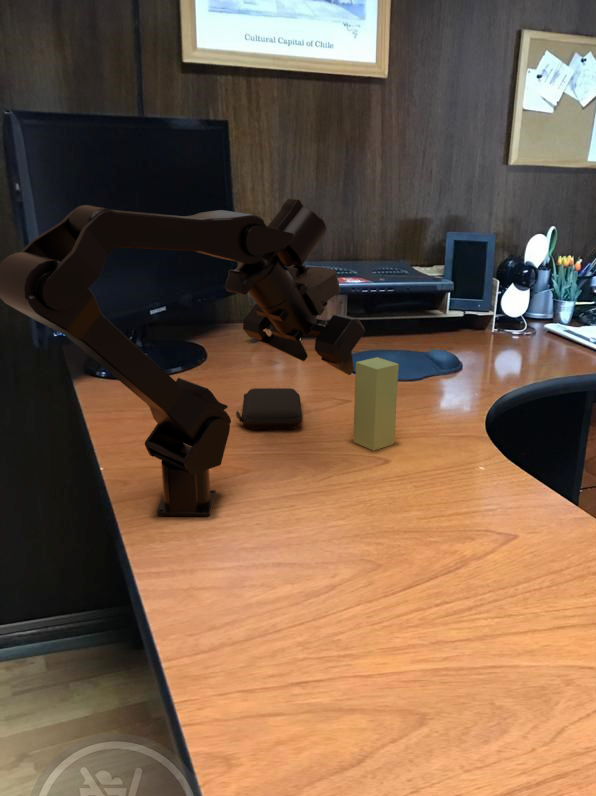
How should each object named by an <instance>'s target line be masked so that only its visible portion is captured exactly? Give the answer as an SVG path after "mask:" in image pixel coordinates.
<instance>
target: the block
mask: <svg viewBox="0 0 596 796" xmlns="http://www.w3.org/2000/svg"><path fill="white" fill-rule="evenodd" d="M399 366H400V364H399V363H397V362H393V361H391V360H387V359H385V358H381V357H378V356H376V357H372V358H367V359H364V360H359V361H356V362H355V374H354V377H355V379H354V404H353V405H354V407H353V408H354V410H353V434H352V435H353V437H352V443H355V444H357V445H359V446H362V447H364V448H366V449H369V450H371V451H373V452H375V451H377V450H380V449H383V448H386V447H389V446H391V445H395V441H396V440H395V439H396V419H397V403H398V399H397V398H398V385H399V369H400V368H399Z"/></svg>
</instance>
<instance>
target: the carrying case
mask: <svg viewBox="0 0 596 796" xmlns="http://www.w3.org/2000/svg"><path fill="white" fill-rule="evenodd" d="M235 416H236V418H237V420H238V421H239V422H240V423H243V424H245V426H246V427H247V428H249V429H252V430H280V429H281V430H291V429H293V430H294V429H296V428H298V427H299V425H300V424H302V422H303V411H302V402H301V395H300V394H299V393H298V392H297V391H296V389H294V388H290V387H285V388H284V387H282V388H280V387H279V388H278V387H273V388H271V387H269V388H268V387H266V388H264V387H261V388H259V387H258V388H257V387H255V388H250V389H249V390H248V391H247V392H246V393H243V402H242V410H241V413H240V412H239V411H238V410H236V412H235Z"/></svg>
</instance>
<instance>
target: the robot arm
mask: <svg viewBox="0 0 596 796" xmlns="http://www.w3.org/2000/svg"><path fill="white" fill-rule="evenodd" d="M327 231H328V228H327V225H326V222H325V221H324V220H323V218H321V217H320V216H319V215H317V213H315V212H314V211H313V210H311V209H310V208H308V207H306V206H305V205H303V203H302V202H301V200H300V199H297V198H289V197H288V198H287V199H286V200H285V201H284V203H283V204H282V206H281V208H280V210H279V211H278V213H277V214H276V215H274V217H273V219H271V221H270V222H269V223H268V224H267V225H266V223H265V220H264V218H262V216H261V217H260V216H258V215H255V214H250V213H244V212H238V211H237V212H236V211H231V210H223V209H219V210H218V209H217V210H210V211H203V212H198V213H195V214H192V215H185V216H183V215H174V214H173V215H172V214H163V213H162V214H161V213H153V212H152V213H151V212H150V213H149V212H139V211H128V210H119V209H110V208H106V207H101V206H96V205H90V204H84V205H79V206H77V207H75V208H74V209H73V210H71V211H70V212H69V213H68V214H67V215H66V216H65V217H64V218H63V219H62V221H60V222H59V223H57V224H55V225H54V226H53V227H51V228H49V229H48V230H46V231H44V232H42V233H41V234H40V235H38V236H37V237H35V238H34V239H32V240H31V241H30V242H29V243H28V244H27V245H25V247H23V249H22V250H21V251H20V252H15V253H13V254H10V255H8V256H7V257H6V258H4V259H3V260H2V261H1V262H0V300H2V301H3V303H4V304H6V305H7V306H9V307H11V308H13V309H15V310H16V311H18V312H20V313H22V314H23V315H25V316H27V317H29V318H30V319H32V320H35V321H36V322H38V323H40V324H42V325H44V326H46V327H48V328H50V329H52V330H54V331H56V332H58V333H60V334H62V335H63V336H65V337H66V338H68V339H69V340H70V341H71V342H73V343H74V344H75V345H76V346H77V347H78V348H79V349H81V350H82V351H83V352H84V353H86V354H87V355H88V356H89V357H90V358H91V359H93V360H94V361H95V362H96V363H97V364H99V365H100V366H101V367H102V368H103V369H105V370H106V371H107V372H108V373H110V375H112V376H113V377H114V378H116V380H118V381H119V382H120V383H121V384H122V385H124V386H125V387H126V388H127V389H129V391H131V392H132V393H133V394H134V395H135V396H137V397H138V398H139V399H140V400H141V401H143V402H144V403H145V404H146V405H147V406H148V407H149V409H150V413H151V415H152V418H153V420H154V421H155V422H156V423H157V424H156V425H155V427H154V428H153V430H152V431H151V432H150V434H149V435H148V437H147V438H146V439H145V442H144V446H145V449H146V450H147V451H146V452H147V453H148V455H149V456H150V457H153V458H155V459H158V460H160V463H161V476H162V477H161V478H162V492H163V494H162V498H161V500H160V502H159V505H158V507H157V509H156V515H157V516H160V517H161V516H163V517H164V516H169V517H171V516H172V517H173V516H175V517H177V516H179V517H181V516H182V517H184V516H185V517H209V516H210V515H211V513H212V509H213V507H214V503H215V500H216V497H217V491H216V490H215V489H214V490H213V489H211V487H210V484H211V483H210V470H211V469H213V468H217V467H219V466H221V465H222V462H223V459H224V454H225V450H226V447H227V443H228V439H229V435H230V430H231V423H232V419H231V416H230V415H229V414H228V412H227V411H226V409H228V407H229V406H228V405H227V404H225V403H222V402H220V401H219V400H218V399H217V398H216V396H215V395H214V393H213V392H212V391H211V390H210V389H209V388H208V387H205V386H202V385H200V384H197V383H194V382H191V381H189V380H186V379H184V378H180V377H177V379H176V380H175V379H173V378H172V376H170V374H168V373H167V372H166V371H165V370H164V369H162V367H160V366H159V364H157V363H156V362H155V361H154V359H152V358H151V357H150V356H149V355H147V354H146V353H145V352H144V351H143V350H142V349H141V348H140V347H138V345H136V344H135V343H134V342H133V341H132V340H131V339H130V338H129V337H128V336H127V335H125V334H124V333H123V332H122V330H121V329H119V328H118V327H117V326H116V325H115V324H114V323H112V322H111V321H110V320H109V319H108V318H107V317H106V316H105V315H104V314H103V313H102V311H101V309H100V306H99V304H98V301H97V298H96V297H95V294H94V292H93V291H92V290H91V288H90V287H91V286H93V284H95V282H96V281H97V280H98V278H99V277H100V275H101V273H102V271H103V268H104V266H105V263H106V261H107V259H108V257H109V255H110V254H111V253H112V252H113V251H114V250H115V248H125V249H126V248H127V249H147V250H164V251H165V250H166V251H167V250H168V251H182V252H183V251H184V252H186V251H187V252H196V253H199V254H203V255H207V256H210V257H214V258H217V259H222V260H228V261H232V262H236V263H239V264H238V266H237V267H236V268H235V269H229V270H228V271H227V274H228V275H227V278H226V281H225V287H224V289H225V290H226V291H227V292H231V293H235V294H239V295H243V296H246V295H247V294H249V295H250V296H251V298H252V299H253V300H254V302H255V304H254V305H253V307H252V308H251V309H250V311H249V312H248V313H247V315H246V316H245V317H244V318H243V320H242V330H243V331H244V332H245V334H246V335H247V336H248V338H251V339H254V340H256V341H257V342H258V343H262V344H264V345H266V346H268V347H271V348H274V349H276V350H278V351H280V352H282V353H284V354H287V355H288V356H291V357H293V358H295V359H297V360H299V361H301V362H306V360H307V358H308V357H309V355H308V353H307V351H306V349H305V347H304V345H303V343H302V341H301V339H302V337H305V336H311V337H314V338H315V340H314V351H315V352H316V353H317V355H318V356H320V357H321V358H320V360H321V361H323V362H324V363H326V364H328V365H330V366H331V367H333V368H335V369H337V370H338V371H340V372H342V373H344V374H346V375H348V376H352V373H353V372H354V371H355V367H354V358H353V350H354V348H355V347H356V346H357V345H358V343H359V341H360V340H361V339H362V337H363V336H364V334H365V333H366V330H365V327H364V325H363V324H362V322H361V320H360V319H359V318H357V317H353V316H349V315H345V314H333V315H332V316H331V317H330V319H329V320H328V321H327V320H323V319H319V318H317V317H318V316H322V314H323V313H324V311H325V310H326V308H325V306H324V304H325V303H327V302H328V301H329V300H331V299H332V298H334V297H335V296H338V295H340V294H341V286H340V283H339V279H338V273H337V270H335V269H332V268H326V267H323V266H322V267H321V266H309V265H308V266H307V267H306V266H305V265H304V263H305V261H306V260H307V259H308V258H309V256H310V255H311V254H312V253H313V251H314V250H315V249H316V248H317V246H318V245H319V244H320V243H321V241H322V240H323V238H324V237H325V235H326V234H327Z"/></svg>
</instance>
